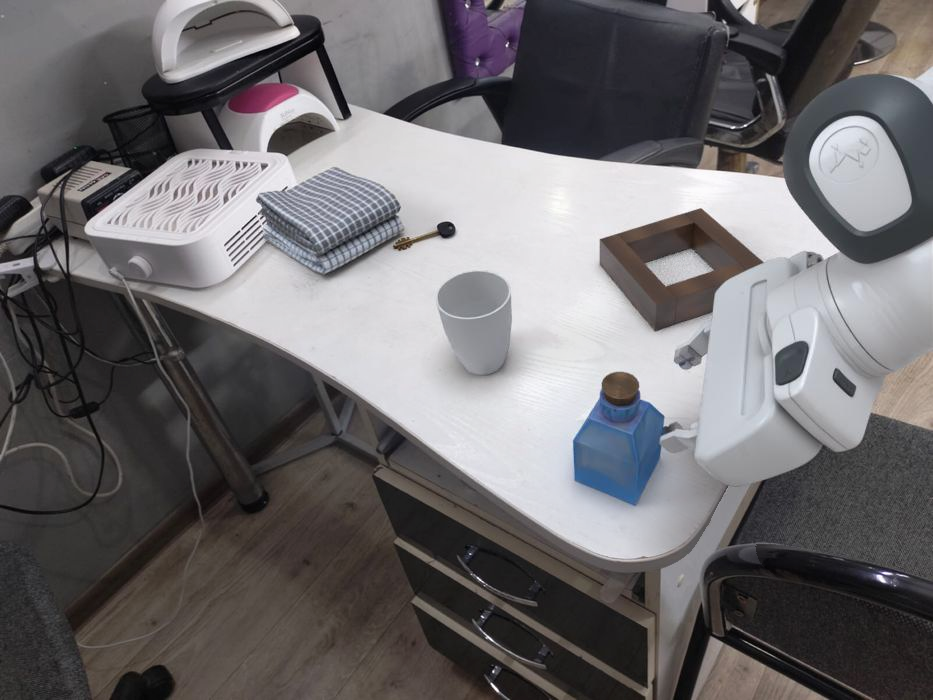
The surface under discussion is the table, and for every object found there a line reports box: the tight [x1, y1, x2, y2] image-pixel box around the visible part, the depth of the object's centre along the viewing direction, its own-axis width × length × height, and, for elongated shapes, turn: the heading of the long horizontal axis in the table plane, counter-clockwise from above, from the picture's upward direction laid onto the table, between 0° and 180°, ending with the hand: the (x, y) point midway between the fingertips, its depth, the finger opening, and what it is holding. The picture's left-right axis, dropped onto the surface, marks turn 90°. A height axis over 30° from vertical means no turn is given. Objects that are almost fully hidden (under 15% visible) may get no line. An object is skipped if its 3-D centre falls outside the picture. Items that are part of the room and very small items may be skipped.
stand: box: [599, 207, 764, 332], centre depth 84 cm, size 14×14×4 cm
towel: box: [255, 166, 405, 275], centre depth 100 cm, size 15×18×8 cm
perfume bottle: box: [572, 371, 665, 507], centre depth 62 cm, size 6×6×12 cm
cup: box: [435, 269, 513, 376], centre depth 76 cm, size 8×8×10 cm
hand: (672, 398), depth 58 cm, fingers open, 8 cm apart
